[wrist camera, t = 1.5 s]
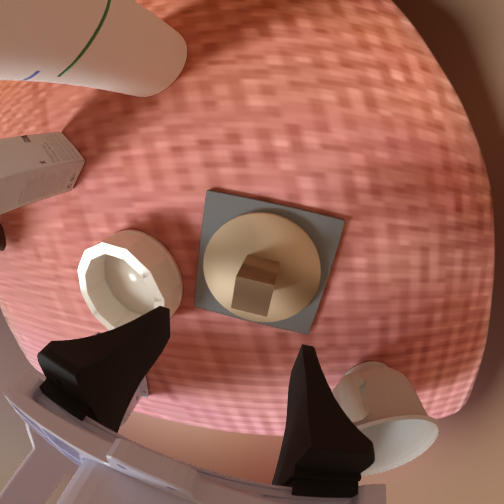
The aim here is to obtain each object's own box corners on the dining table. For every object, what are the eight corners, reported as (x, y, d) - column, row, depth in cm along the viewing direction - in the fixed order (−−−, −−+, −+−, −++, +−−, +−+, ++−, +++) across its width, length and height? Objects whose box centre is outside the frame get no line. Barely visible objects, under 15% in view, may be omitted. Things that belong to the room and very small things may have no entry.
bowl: (181, 331, 27) (166, 354, 24) (105, 303, 28) (85, 321, 25) (186, 242, 23) (166, 259, 20) (99, 220, 24) (73, 232, 21)
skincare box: (87, 159, 22) (-13, 180, 11) (72, 193, 24) (-18, 225, 13) (60, 129, 22) (-30, 140, 10) (46, 162, 23) (-37, 183, 12)
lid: (303, 326, 24) (301, 361, 20) (201, 302, 25) (183, 331, 21) (333, 227, 20) (341, 248, 16) (213, 200, 21) (191, 214, 17)
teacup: (397, 296, 22) (435, 373, 12) (422, 386, 25) (441, 450, 16) (282, 345, 26) (268, 428, 16) (334, 418, 29) (333, 484, 20)
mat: (308, 331, 24) (308, 334, 24) (196, 303, 26) (194, 306, 25) (344, 219, 20) (345, 221, 20) (208, 189, 21) (206, 190, 21)
